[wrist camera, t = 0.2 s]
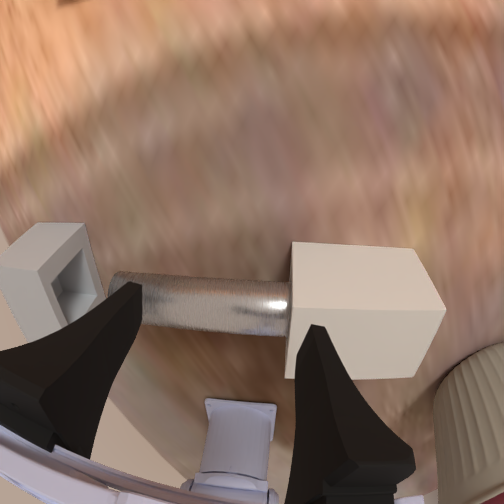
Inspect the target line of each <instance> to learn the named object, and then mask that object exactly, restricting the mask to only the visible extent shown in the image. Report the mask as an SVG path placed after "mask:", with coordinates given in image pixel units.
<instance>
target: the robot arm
mask: <svg viewBox="0 0 504 504" xmlns="http://www.w3.org/2000/svg"><path fill="white" fill-rule="evenodd" d="M142 319H143V318H142V285H141V284H138V283H134V282H130V281H129V282H127V283H126V284H124V285H123V286H122V287H121V288H119V289H118V290H117V291H116V292H114V293H113V294H112V295H110V296H109V297H108V298H107V299H105V300H104V301H103V302H101V303H100V304H99V305H97V306H96V307H95V308H93V309H92V310H90V311H89V312H87V313H86V314H84V315H83V316H81V317H80V318H79V319H77V320H75V321H74V322H72V323H70V324H69V325H67V326H65V327H63V328H62V329H60V330H58V331H56V332H54V333H52V334H49V335H47V336H45V337H43V338H41V339H38V340H36V341H33V342H30V343H27V344H24V345H22V346H18V347H15V348H11V349H7V350H3V351H0V476H1V477H3V478H5V479H6V480H7V481H9V482H11V483H12V484H14V485H15V486H17V487H19V488H20V489H22V490H23V491H25V492H27V493H28V494H30V495H32V496H34V497H35V498H37V499H39V500H41V501H43V502H45V503H46V504H279V496H278V494H277V493H276V492H275V490H274V489H270V488H269V489H268V481H267V470H268V459H269V447H270V441H272V440H273V433H274V425H275V417H276V409H277V406H276V405H275V404H267V403H253V402H241V401H230V400H220V399H212V398H206V399H205V407H206V411H207V416H208V420H209V427H208V432H207V437H206V442H205V446H204V451H203V456H202V461H201V466H200V471H199V473H195V478H194V479H188V480H187V481H186V482H184V483H183V484H182V485H181V488H180V489H179V488H175V487H171V486H167V485H164V484H160V483H156V482H153V481H149V480H146V479H143V478H140V477H136V476H133V475H130V474H127V473H124V472H121V471H119V470H116V469H113V468H110V467H107V466H105V465H102V464H99V463H97V462H94V461H92V460H90V457H91V452H92V448H93V444H94V439H95V436H96V432H97V428H98V425H99V421H100V418H101V415H102V411H103V408H104V405H105V402H106V399H107V397H108V394H109V391H110V388H111V386H112V383H113V381H114V379H115V377H116V375H117V373H118V371H119V369H120V367H121V365H122V363H123V361H124V359H125V357H126V355H127V354H128V352H129V350H130V348H131V346H132V344H133V342H134V340H135V338H136V335H137V333H138V330H139V327H140V325H141V322H142ZM295 408H296V430H295V440H294V449H293V457H292V465H291V471H290V478H289V484H288V489H287V494H286V499H285V503H284V504H424V498H423V495H416V496H409V497H401V498H397V499H394V495H393V494H394V493H396V492H397V486H396V484H398V483H400V482H401V481H403V480H404V479H406V478H408V477H409V476H410V475H412V474H413V473H414V471H415V470H416V466H415V459H414V454H413V450H412V448H411V447H410V446H409V445H408V444H406V443H405V442H404V441H403V440H402V439H400V438H399V437H398V436H397V435H396V434H395V433H394V432H393V431H392V430H391V429H390V428H389V427H388V426H387V425H386V424H385V423H384V422H383V421H382V420H381V419H380V418H379V417H378V416H377V414H376V413H375V412H374V411H373V410H372V409H371V407H370V406H369V405H368V403H367V402H366V401H365V399H364V398H363V397H362V395H361V394H360V392H359V391H358V389H357V388H356V386H355V385H354V383H353V381H352V380H351V378H350V376H349V374H348V373H347V371H346V369H345V367H344V365H343V363H342V361H341V359H340V357H339V355H338V353H337V351H336V349H335V347H334V345H333V343H332V341H331V338H330V336H329V334H328V332H327V330H326V328H325V327H324V326H319V325H314V324H311V325H310V327H309V330H308V332H307V334H306V336H305V338H304V340H303V342H302V345H301V347H300V349H299V351H298V353H297V355H296V365H295ZM108 486H109V487H112V488H114V489H117V490H120V491H121V492H118V491H115V490H111V489H108ZM267 490H268V492H267Z"/></svg>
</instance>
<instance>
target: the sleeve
mask: <svg viewBox="0 0 504 504" xmlns="http://www.w3.org/2000/svg"><path fill="white" fill-rule="evenodd" d="M289 282H292V311H291V321H290V330H289V337H286V354H285V378H291V379H295V365H296V355H297V353H298V351H299V349H300V347H301V345H302V342H303V340H304V338H305V336H306V334H307V332H308V330H309V327H310V325H311V324H314V325H319V326H324V327H325V328H326V330H327V332H328V334H329V336H330V338H331V341H332V343H333V345H334V347H335V349H336V351H337V353H338V355H339V357H340V359H341V361H342V363H343V365H344V367H345V369H346V371H347V373H348V374H349V376H350V378H351V379H387V378H406V377H413V376H414V375H415V373H416V371H417V369H418V367H419V365H420V364H421V362H422V360H423V358H424V356H425V354H426V352H427V350H428V348H429V346H430V344H431V342H432V340H433V338H434V336H435V334H436V332H437V330H438V328H439V326H440V323H441V321H442V319H443V317H444V315H445V312H446V308H445V306H444V304H443V302H442V300H441V298H440V296H439V294H438V292H437V290H436V289H435V287H434V285H433V283H432V281H431V279H430V277H429V276H428V274H427V272H426V270H425V268H424V267H423V265H422V263H421V261H420V260H419V258H418V256H417V254H416V253H415V251H414V249H411V248H395V247H378V246H361V245H343V244H325V243H307V242H292V251H291V264H290V277H289Z"/></svg>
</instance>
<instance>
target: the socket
mask: <svg viewBox="0 0 504 504" xmlns="http://www.w3.org/2000/svg"><path fill="white" fill-rule="evenodd" d="M0 289H1V291H2V293H3V296H4V298H5V300H6V302H7V304H8V306H9V308H10V310H11V312H12V314H13V316H14V318H15V320H16V322H17V324H18V325H19V327H20V329H21V331H22V333H23V335H24V336H25V338H26V340H27V342H29V343H30V342H33V341H36V340H38V339H41V338H43V337H45V336H47V335H49V334H52V333H54V332H56V331H58V330H60V329H62V328H63V327H65V326H67V325H69V324H70V323H72V322H74V321H75V320H77V319H79V318H80V317H81V316H83V315H84V314H86V313H87V312H89V311H90V310H92V309H93V308H95V307H96V306H97V305H99V304H100V303H101V302H103V301H104V300H105V299H106V297H105V294H104V291H103V287H102V284H101V281H100V278H99V274H98V271H97V267H96V264H95V260H94V257H93V253H92V250H91V246H90V242H89V238H88V234H87V230H86V226H85V223H36V224H35V225H34V226H33V227H31V228H30V229H29V230H28V231H27V232H25V233H24V234H23V235H22V236H21V237H20V238H19V239H17V240H16V241H15V242H14V243H13V244H12V245H11V246H9V247H8V248H7V249H6V250H5V251H4V252H3V253H2V254H1V255H0Z"/></svg>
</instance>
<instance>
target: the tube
mask: <svg viewBox="0 0 504 504" xmlns="http://www.w3.org/2000/svg"><path fill="white" fill-rule="evenodd" d="M129 281H130V282H134V283H138V284H141V285H142V318H143V319H142V322H141V324H146V325H154V326H162V327H170V328H179V329H188V330H198V331H208V332H219V333H231V334H244V335H259V336H276V337H289V330H290V321H291V311H292V282H275V281H257V280H240V279H224V278H208V277H194V276H179V275H166V274H153V273H140V272H128V271H118V272H117V273H116V274H115V275H114V276H113V278H112V280H111V282H110V285H109V290H108V297H109V296H110V295H112V294H113V293H114V292H116V291H117V290H118V289H119V288H121V287H122V286H123V285H124V284H126V283H127V282H129Z"/></svg>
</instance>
